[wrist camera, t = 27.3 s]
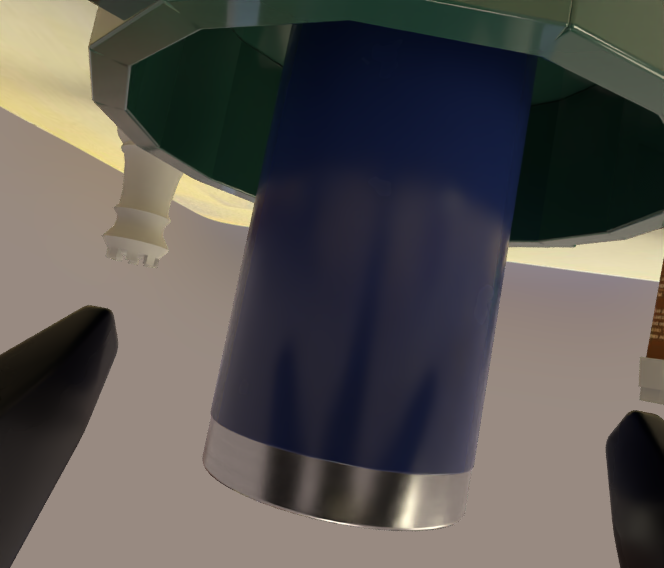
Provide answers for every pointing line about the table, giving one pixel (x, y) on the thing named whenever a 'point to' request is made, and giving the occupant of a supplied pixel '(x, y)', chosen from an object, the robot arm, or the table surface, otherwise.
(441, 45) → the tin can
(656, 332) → the food container
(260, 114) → the pot
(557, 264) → the table surface
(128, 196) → the rook chess piece
